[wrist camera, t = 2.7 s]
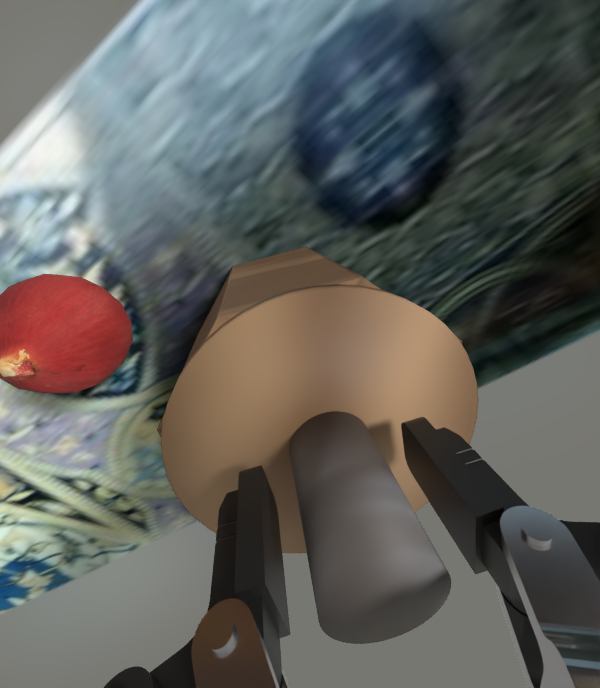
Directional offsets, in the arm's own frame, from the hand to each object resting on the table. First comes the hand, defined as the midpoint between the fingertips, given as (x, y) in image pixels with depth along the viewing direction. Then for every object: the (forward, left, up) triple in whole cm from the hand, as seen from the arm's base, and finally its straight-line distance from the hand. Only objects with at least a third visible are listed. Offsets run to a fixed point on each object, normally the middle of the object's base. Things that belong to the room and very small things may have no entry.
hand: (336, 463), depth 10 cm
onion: (+11, -5, -12) cm, 17 cm away
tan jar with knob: (0, 0, -12) cm, 12 cm away
